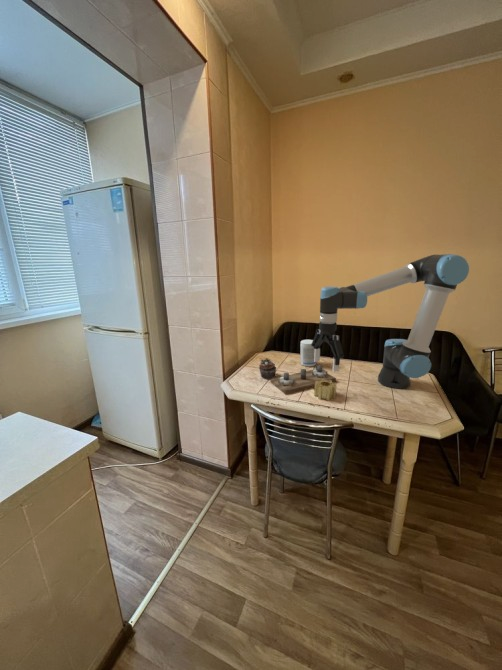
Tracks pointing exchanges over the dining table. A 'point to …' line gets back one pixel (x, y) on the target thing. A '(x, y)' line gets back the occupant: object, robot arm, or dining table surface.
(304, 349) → the supplement tub
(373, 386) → the dining table surface
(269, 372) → the cupcake
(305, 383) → the gear board
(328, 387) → the brass gear
